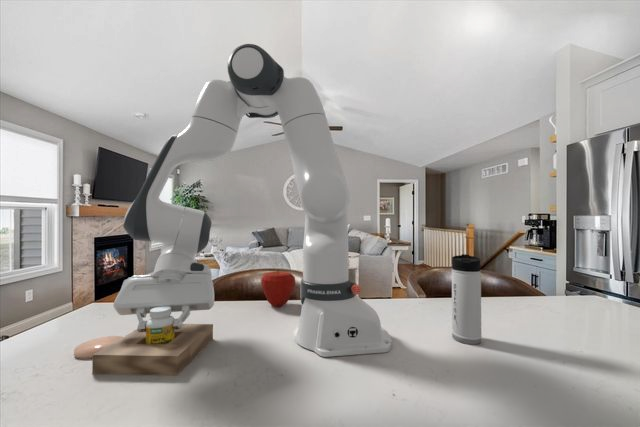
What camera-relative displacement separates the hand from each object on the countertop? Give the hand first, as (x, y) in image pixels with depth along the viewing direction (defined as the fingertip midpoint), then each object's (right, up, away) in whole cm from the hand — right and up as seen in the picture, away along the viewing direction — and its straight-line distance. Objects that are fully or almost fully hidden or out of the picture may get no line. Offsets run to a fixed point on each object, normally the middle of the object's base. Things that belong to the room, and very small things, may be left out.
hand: (159, 329), depth 60 cm
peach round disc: (-15, -5, +3) cm, 16 cm away
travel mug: (+69, -6, +9) cm, 70 cm away
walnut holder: (0, -5, +1) cm, 5 cm away
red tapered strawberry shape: (+20, -6, +35) cm, 41 cm away
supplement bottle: (0, -6, +1) cm, 6 cm away
